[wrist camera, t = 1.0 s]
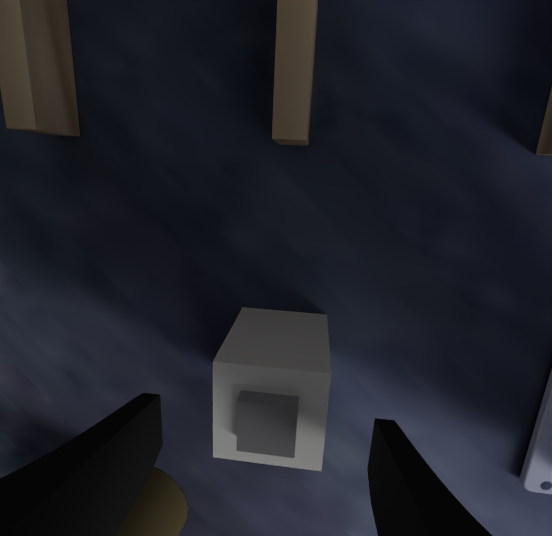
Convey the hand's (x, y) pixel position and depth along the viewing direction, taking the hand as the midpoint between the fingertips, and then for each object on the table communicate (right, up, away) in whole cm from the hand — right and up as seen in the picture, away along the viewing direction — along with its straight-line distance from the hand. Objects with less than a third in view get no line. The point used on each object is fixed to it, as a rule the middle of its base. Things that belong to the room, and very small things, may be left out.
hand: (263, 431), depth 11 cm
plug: (+1, +1, +5) cm, 6 cm away
